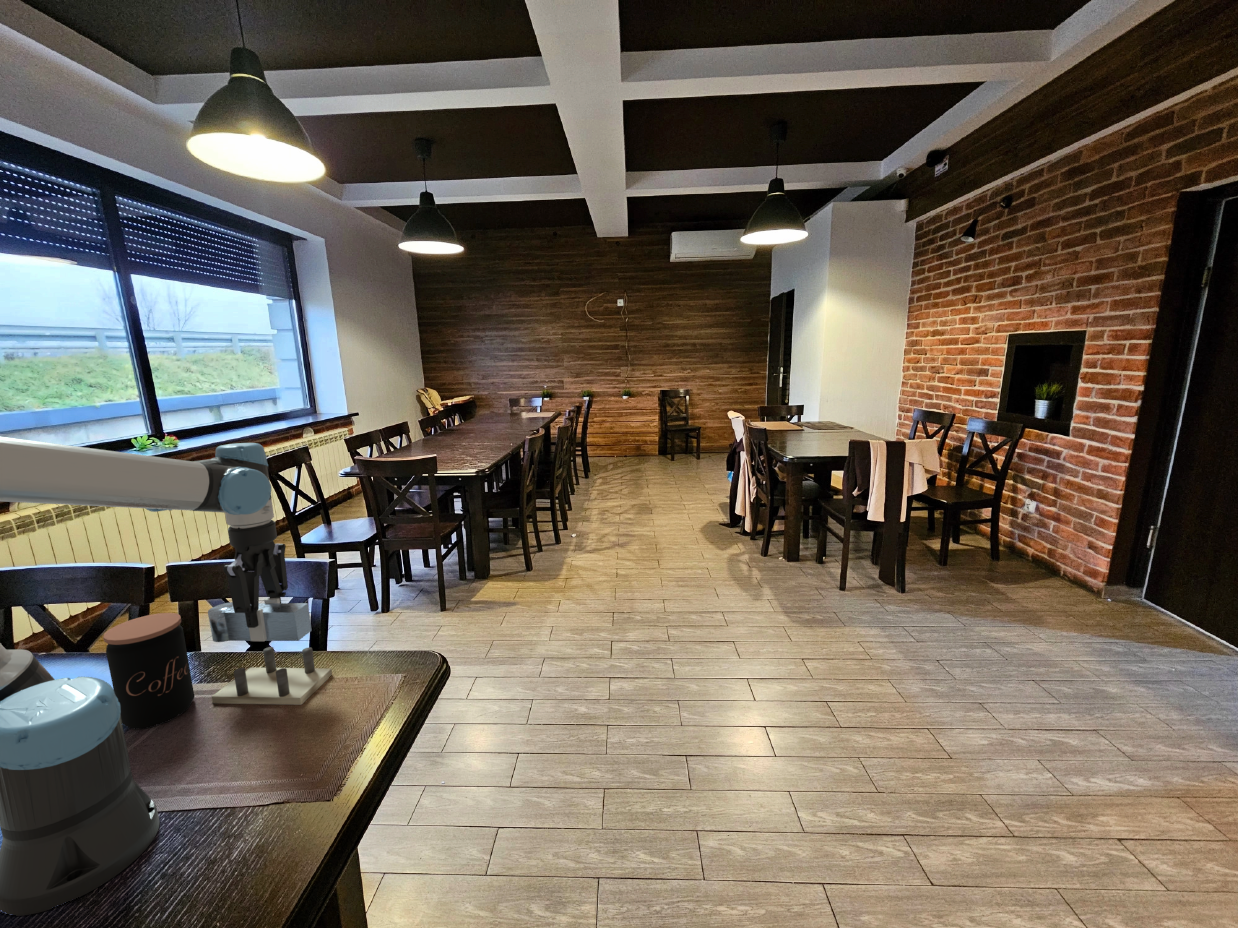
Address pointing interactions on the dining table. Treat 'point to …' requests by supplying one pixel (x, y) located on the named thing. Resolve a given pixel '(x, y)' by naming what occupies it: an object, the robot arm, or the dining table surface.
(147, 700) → the coffee jar
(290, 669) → the peg rack
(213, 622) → the bevelled metal block
